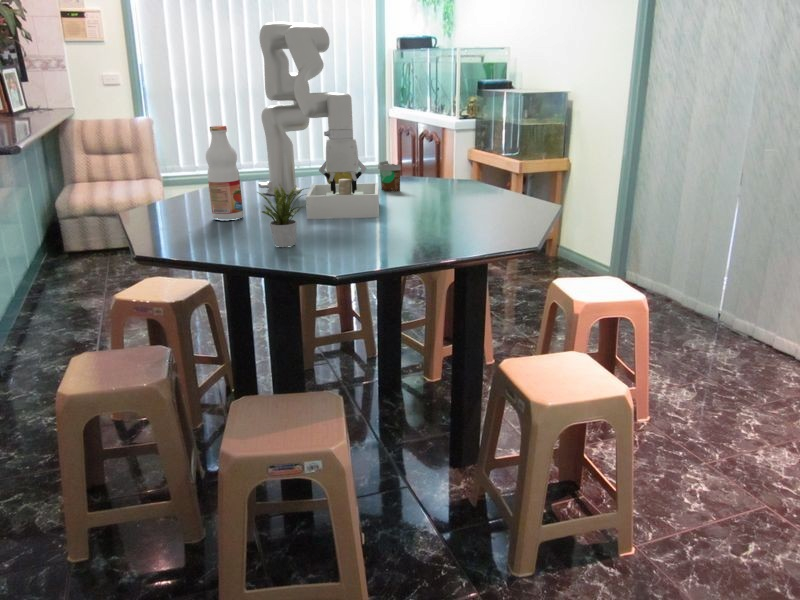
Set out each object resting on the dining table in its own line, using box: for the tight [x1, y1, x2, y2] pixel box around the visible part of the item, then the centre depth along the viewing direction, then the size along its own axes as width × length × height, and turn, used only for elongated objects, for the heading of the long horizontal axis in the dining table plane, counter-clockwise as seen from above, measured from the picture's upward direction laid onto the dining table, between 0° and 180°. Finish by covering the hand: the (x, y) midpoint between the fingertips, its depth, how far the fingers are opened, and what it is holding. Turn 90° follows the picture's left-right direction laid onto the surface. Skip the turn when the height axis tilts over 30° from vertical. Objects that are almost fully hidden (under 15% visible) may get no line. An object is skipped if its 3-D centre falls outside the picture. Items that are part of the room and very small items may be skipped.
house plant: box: [256, 184, 309, 247], centre depth 166 cm, size 14×14×16 cm
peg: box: [339, 179, 351, 195], centre depth 208 cm, size 4×4×10 cm
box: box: [305, 182, 380, 220], centre depth 208 cm, size 22×22×7 cm
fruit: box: [325, 170, 358, 184], centre depth 245 cm, size 11×12×10 cm
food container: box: [377, 160, 402, 192], centre depth 243 cm, size 12×6×10 cm, turn 25°
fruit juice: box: [205, 125, 244, 219], centre depth 198 cm, size 9×9×28 cm
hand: (344, 192), depth 208 cm, fingers open, 5 cm apart
